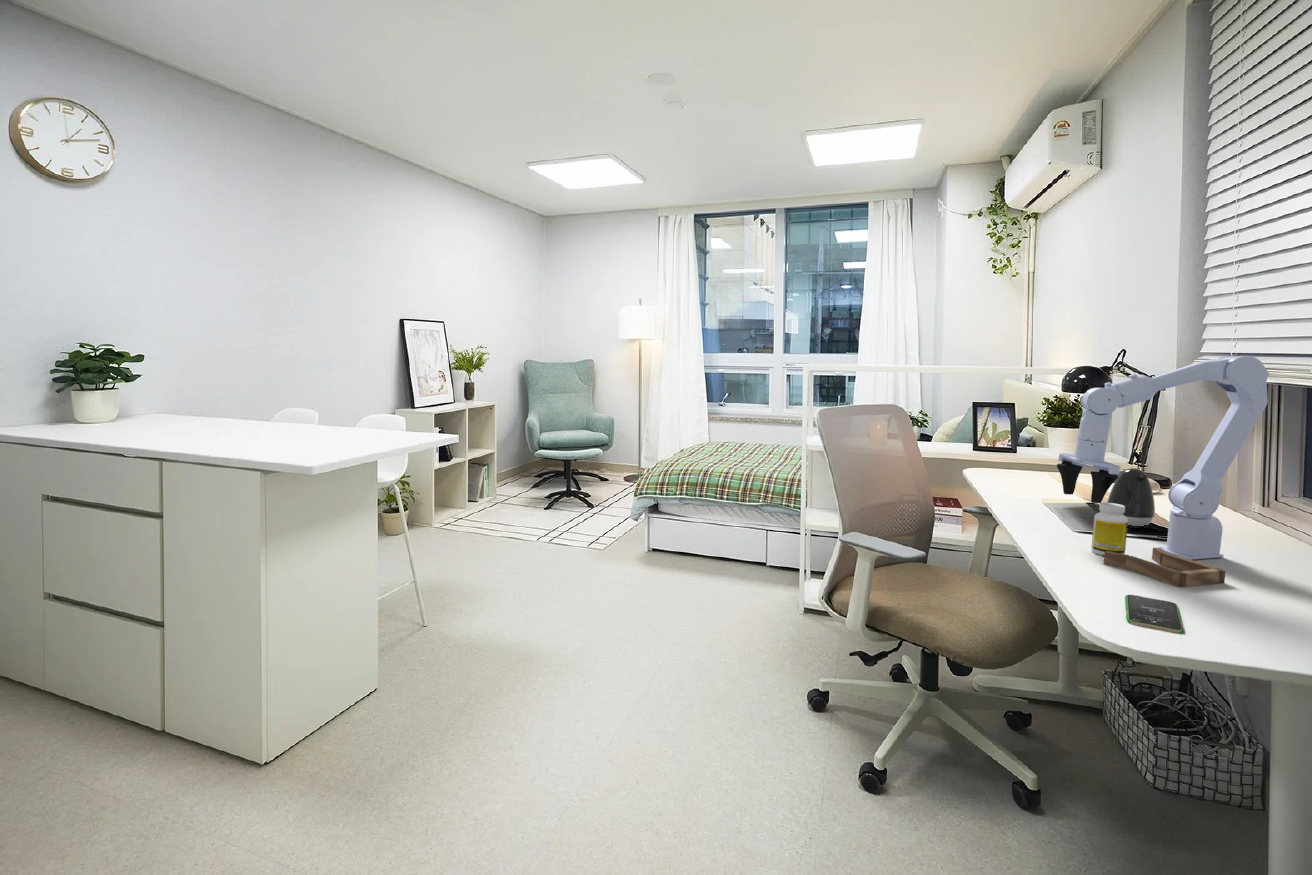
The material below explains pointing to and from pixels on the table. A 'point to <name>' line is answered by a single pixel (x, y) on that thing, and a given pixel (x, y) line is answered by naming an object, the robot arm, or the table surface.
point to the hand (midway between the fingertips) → (1081, 498)
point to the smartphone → (1153, 613)
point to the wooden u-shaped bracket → (1185, 576)
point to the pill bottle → (1109, 529)
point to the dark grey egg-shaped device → (1134, 496)
